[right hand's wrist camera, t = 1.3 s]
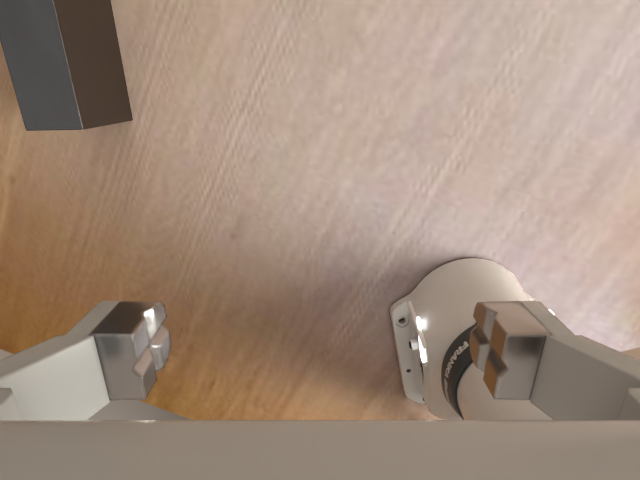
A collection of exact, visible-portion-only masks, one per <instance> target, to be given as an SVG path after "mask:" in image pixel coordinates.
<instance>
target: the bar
mask: <svg viewBox="0 0 640 480" xmlns="http://www.w3.org/2000/svg"><path fill="white" fill-rule="evenodd" d="M0 40H1V44H2V47H3V51H4V54H5V58H6V61H7V65H8V68H9V72H10V75H11V79H12V82H13V86H14V89H15V93H16V96H17V100H18V103H19V107H20V111H21V114H22V118H23V121H24V125H25V128H26V130H27V131H34V130H83V129H89V128H94V127H99V126H105V125H110V124H115V123H121V122H126V121H131V120H133V119H132V114H131V109H130V103H129V98H128V92H127V87H126V82H125V76H124V71H123V66H122V60H121V55H120V50H119V44H118V39H117V33H116V28H115V23H114V17H113V12H112V7H111V1H110V0H0Z"/></svg>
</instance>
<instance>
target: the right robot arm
mask: <svg viewBox="0 0 640 480" xmlns="http://www.w3.org/2000/svg"><path fill="white" fill-rule="evenodd" d="M390 315H391V321H392V327H393V333H394V338H395V344H396V350H397V356H398V362H399V367H400V373H401V379H402V385H403V390H404V393H405V395H406V397H407V398H408V399H410V400H412V401H414V402H416V403H419V404H423V405H426V406H427V408H428V410H429V411H430V412H431V413H432V414H433V415H435V416H437V417H439V418H442V419H446V420H87V419H88V418H90V417H91V416H92V415H94V414H95V413H96V412H98V411H99V410H100V409H101V408H103V407H104V406H105V405H107V404H108V403H109V402H110V400H139V399H146V398H147V397H148V395H149V393H150V391H151V389H152V388H153V386H154V384H155V382H156V381H157V377H156V372H157V371H159V370H160V369H162V368H164V366H165V364H166V362H167V360H168V357H169V353H170V349H171V338H170V332H169V330H168V329H167V328H166V327H165V326H164V325H163V324H162V323H163V322H164V320H165V319H166V317H167V314H166V309H165V305H164V304H163V303H162V302H161V301H121V300H117V301H100V302H99V303H98V304H97V305H96V306H95V307H94V308H93V309H92V310H91V311H90V312H89V313H88V314H86V315H85V316H84V317H83V318H82V319H81V320H80V321H79V322H78V323H77V324H76V325H75V326H74V327H73V328H72V329H71V330H70V331H69V332H68V333H67V334H66V335H63V336H56V337H54V338H51V339H49V340H47V341H44V342H42V343H40V344H37V345H35V346H32V347H30V348H28V349H25V350H23V351H21V352H18V353H16V354H14V355H11V356H9V357H7V358H4V359H2V360H0V480H640V360H638V359H635V358H633V357H631V356H629V355H626V354H624V353H621V352H619V351H617V350H614V349H612V348H610V347H607V346H605V345H603V344H600V343H598V342H596V341H593V340H591V339H589V338H586V337H584V336H577V335H574V334H573V333H572V332H571V331H570V330H569V329H568V328H567V327H566V326H565V325H564V324H563V323H562V322H561V321H560V320H559V319H558V318H557V317H556V316H555V315H554V313H553V312H552V311H551V310H549V309H547V308H546V307H545V306H544V305H543V304H542V303H541V302H539V301H537V300H536V299H534V298H533V297H532V296H530V295H528V294H527V293H525V292H524V291H523V289H522V287H521V286H520V284H519V282H518V280H517V279H516V277H515V276H514V275H513V274H512V273H511V272H510V271H509V270H508V269H507V268H505V267H504V266H502V265H500V264H498V263H496V262H493V261H490V260H486V259H479V258H467V259H460V260H456V261H452V262H449V263H447V264H444V265H442V266H440V267H438V268H437V269H435V270H433V271H432V272H431V273H429V274H428V275H427V276H426V277H425V278H424V279H423V280H422V281H421V282H420V283H419V284H418V285H417V287H416V288H415V289H414V290H413V291H412V292H411V293H410V294H409V295H407V296H405V297H403V298H401V299H400V300H398V301H396V302H395V303H394V304H393V305H392V306H391V308H390ZM400 318H404V320H402V321H400V320H399V319H400ZM423 397H424V398H423Z"/></svg>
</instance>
